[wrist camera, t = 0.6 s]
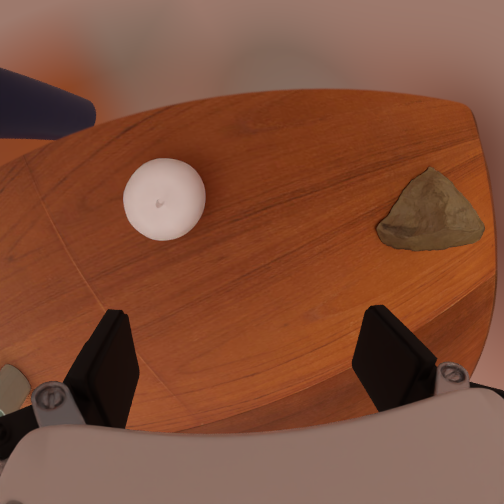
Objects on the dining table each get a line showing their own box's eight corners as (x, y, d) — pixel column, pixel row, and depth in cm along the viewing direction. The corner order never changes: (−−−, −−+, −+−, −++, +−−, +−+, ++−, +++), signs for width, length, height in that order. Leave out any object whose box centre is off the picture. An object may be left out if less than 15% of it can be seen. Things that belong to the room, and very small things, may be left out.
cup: (3, 377, 31) (-19, 408, 23) (3, 357, 30) (-22, 390, 22) (29, 398, 33) (10, 431, 25) (31, 379, 32) (9, 415, 23)
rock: (383, 275, 29) (452, 259, 28) (412, 252, 21) (490, 234, 20) (359, 189, 33) (425, 181, 32) (375, 147, 25) (451, 143, 24)
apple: (221, 205, 28) (221, 223, 20) (160, 242, 28) (140, 271, 20) (185, 144, 25) (171, 137, 18) (124, 183, 26) (91, 192, 18)
